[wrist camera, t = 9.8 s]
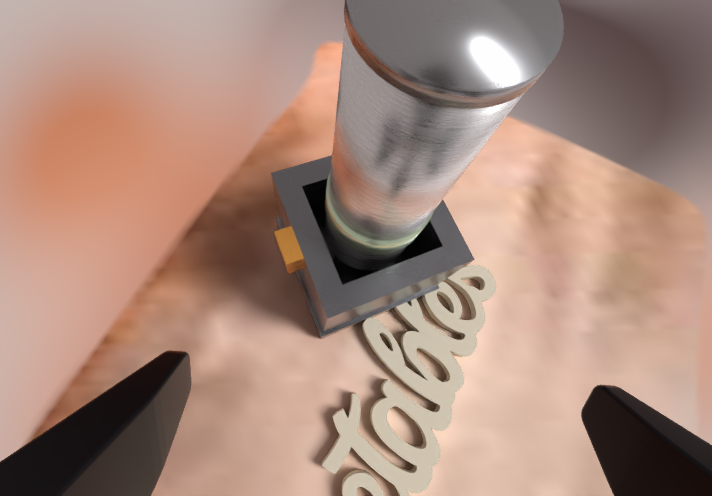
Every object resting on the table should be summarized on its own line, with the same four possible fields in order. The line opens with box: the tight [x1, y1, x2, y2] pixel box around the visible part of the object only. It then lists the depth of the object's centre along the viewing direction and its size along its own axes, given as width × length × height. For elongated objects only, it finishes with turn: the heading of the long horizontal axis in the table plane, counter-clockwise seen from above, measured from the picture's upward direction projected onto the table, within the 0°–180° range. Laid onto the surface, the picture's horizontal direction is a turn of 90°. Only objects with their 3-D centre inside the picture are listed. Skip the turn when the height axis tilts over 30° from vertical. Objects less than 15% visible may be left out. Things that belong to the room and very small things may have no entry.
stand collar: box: [271, 156, 474, 339], centre depth 19 cm, size 8×8×6 cm
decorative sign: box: [322, 265, 496, 496], centre depth 19 cm, size 26×1×10 cm
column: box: [325, 0, 564, 270], centre depth 12 cm, size 4×4×12 cm
